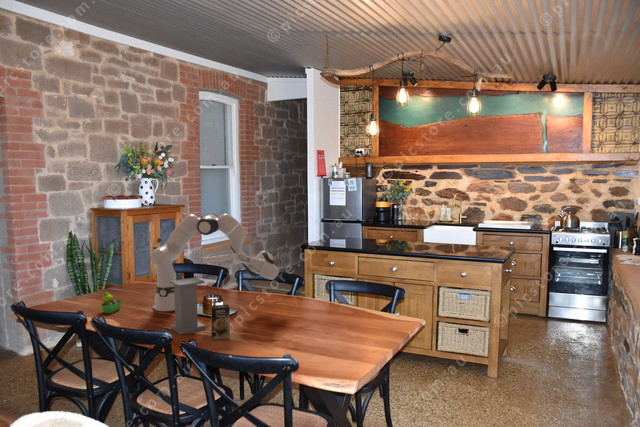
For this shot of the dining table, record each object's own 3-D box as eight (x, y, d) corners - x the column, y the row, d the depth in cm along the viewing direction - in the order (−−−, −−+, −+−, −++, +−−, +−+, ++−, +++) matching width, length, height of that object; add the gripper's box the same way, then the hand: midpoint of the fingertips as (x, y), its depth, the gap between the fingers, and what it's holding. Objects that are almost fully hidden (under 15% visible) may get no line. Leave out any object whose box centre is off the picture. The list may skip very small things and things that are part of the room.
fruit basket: (111, 313, 294) (111, 295, 293) (98, 313, 296) (97, 294, 295) (123, 308, 305) (122, 290, 304) (110, 307, 307) (109, 289, 306)
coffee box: (211, 340, 249) (211, 308, 247) (211, 336, 255) (210, 305, 254) (230, 338, 251) (229, 307, 250) (229, 334, 257) (228, 303, 256)
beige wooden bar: (241, 257, 286) (241, 252, 285) (244, 258, 283) (244, 253, 283) (202, 262, 270) (202, 257, 270) (205, 263, 268) (205, 258, 268)
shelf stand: (195, 323, 275) (194, 277, 273) (205, 329, 266) (204, 281, 264) (171, 328, 266) (169, 281, 264) (180, 334, 257) (179, 285, 255)
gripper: (248, 257, 299) (231, 248, 291) (267, 262, 283) (249, 252, 275) (244, 267, 298) (226, 257, 289) (263, 272, 282) (244, 263, 274)
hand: (237, 255), depth 282 cm, fingers closed on beige wooden bar, 3 cm apart
